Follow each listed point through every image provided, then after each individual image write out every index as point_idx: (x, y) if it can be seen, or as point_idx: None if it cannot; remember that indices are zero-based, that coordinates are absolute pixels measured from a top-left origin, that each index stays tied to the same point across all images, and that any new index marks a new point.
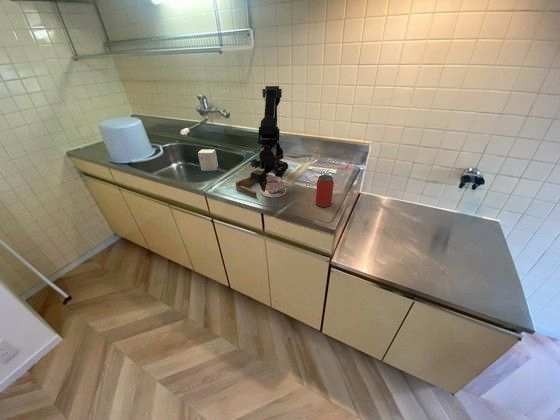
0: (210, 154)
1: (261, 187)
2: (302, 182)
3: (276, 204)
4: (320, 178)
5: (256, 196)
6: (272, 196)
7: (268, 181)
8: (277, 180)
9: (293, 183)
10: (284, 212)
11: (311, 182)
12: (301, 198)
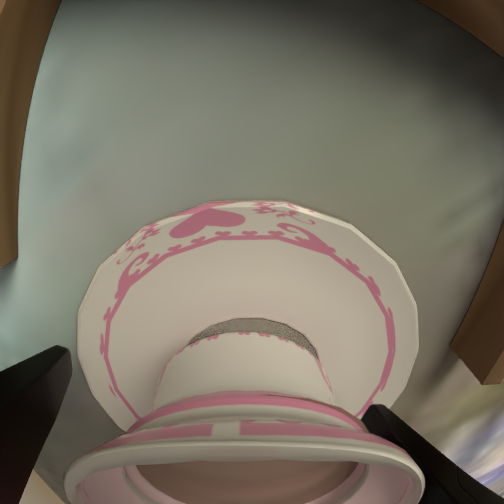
0: None
1: (4, 384)
2: (475, 443)
3: (65, 451)
4: None
5: (14, 258)
6: (121, 416)
7: (296, 403)
8: (351, 493)
9: (465, 418)
10: (49, 483)
11: (469, 467)
12: None
